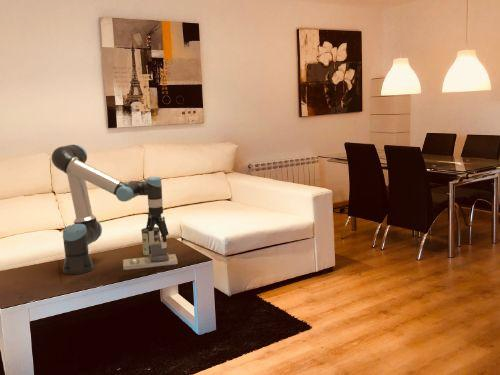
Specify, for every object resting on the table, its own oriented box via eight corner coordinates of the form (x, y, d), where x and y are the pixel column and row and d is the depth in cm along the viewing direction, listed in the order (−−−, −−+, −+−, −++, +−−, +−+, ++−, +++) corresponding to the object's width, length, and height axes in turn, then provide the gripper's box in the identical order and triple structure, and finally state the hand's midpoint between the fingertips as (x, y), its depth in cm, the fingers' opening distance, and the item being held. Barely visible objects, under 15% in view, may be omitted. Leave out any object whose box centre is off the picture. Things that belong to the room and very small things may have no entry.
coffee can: (163, 250, 296) (162, 226, 294) (157, 255, 287) (155, 231, 284) (147, 250, 299) (145, 226, 296) (140, 255, 289) (138, 231, 286)
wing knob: (151, 262, 267) (150, 247, 266) (148, 257, 277) (147, 243, 276) (170, 260, 270) (169, 245, 269) (167, 254, 280) (166, 240, 278)
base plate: (123, 270, 264) (122, 264, 263) (123, 263, 275) (123, 257, 275) (177, 264, 270) (177, 258, 270) (175, 257, 282) (175, 251, 281)
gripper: (173, 208, 261) (175, 248, 265) (150, 202, 281) (153, 239, 284) (160, 211, 257) (163, 251, 260) (138, 204, 276) (140, 241, 280)
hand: (157, 245), depth 272 cm, fingers open, 13 cm apart
